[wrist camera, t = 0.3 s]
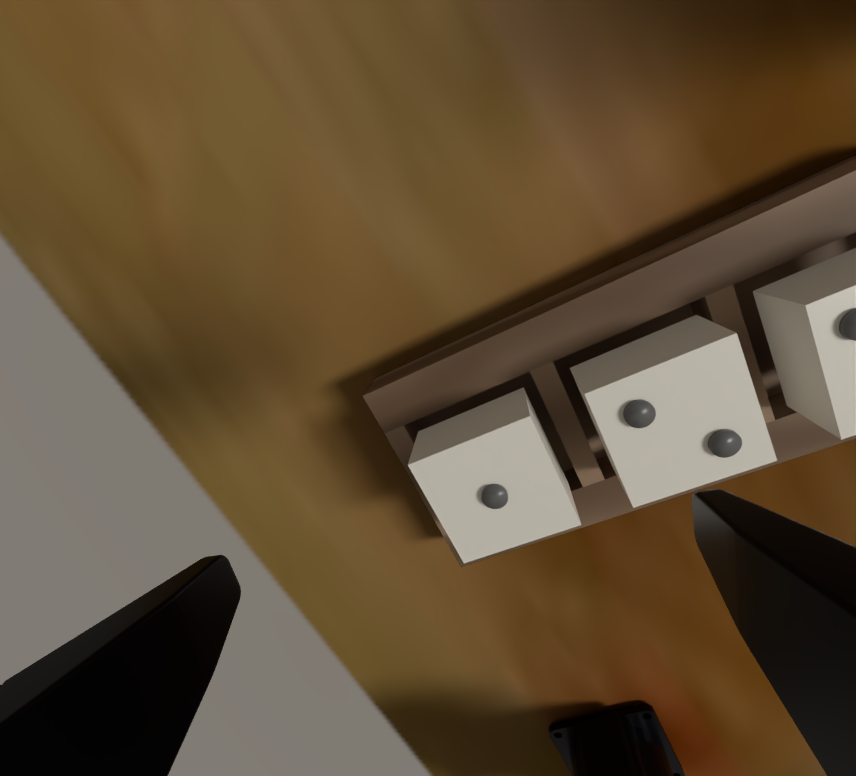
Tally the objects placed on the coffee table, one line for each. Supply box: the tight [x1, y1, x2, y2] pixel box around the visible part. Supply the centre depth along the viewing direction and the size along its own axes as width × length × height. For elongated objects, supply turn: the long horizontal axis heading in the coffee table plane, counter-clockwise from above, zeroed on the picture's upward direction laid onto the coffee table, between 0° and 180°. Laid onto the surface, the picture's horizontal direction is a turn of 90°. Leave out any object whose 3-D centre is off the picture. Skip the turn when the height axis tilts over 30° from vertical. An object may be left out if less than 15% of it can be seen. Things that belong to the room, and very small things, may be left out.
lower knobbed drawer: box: [408, 387, 581, 563], centre depth 19 cm, size 5×5×3 cm
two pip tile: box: [570, 315, 777, 508], centre depth 17 cm, size 5×5×3 cm
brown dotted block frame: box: [363, 155, 856, 567], centre depth 20 cm, size 10×22×2 cm, turn 117°
